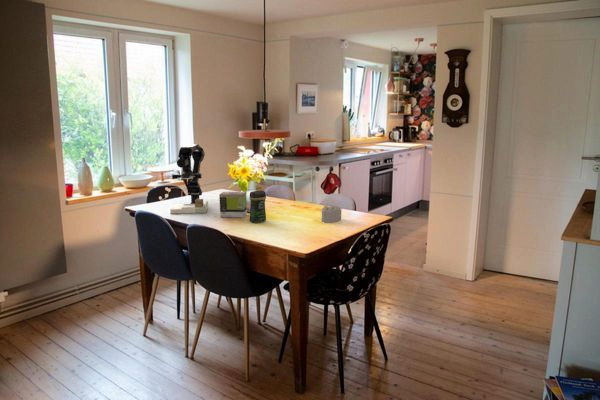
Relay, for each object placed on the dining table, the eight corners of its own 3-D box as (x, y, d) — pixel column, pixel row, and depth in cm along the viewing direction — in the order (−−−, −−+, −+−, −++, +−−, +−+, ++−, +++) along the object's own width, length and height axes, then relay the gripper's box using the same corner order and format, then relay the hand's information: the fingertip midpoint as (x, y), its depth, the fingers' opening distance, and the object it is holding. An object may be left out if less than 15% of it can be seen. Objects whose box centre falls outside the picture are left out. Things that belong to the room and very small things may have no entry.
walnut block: (196, 205, 310) (196, 198, 309) (203, 205, 310) (203, 199, 309) (195, 207, 305) (194, 200, 304) (201, 207, 305) (201, 200, 304)
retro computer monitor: (247, 214, 299) (246, 191, 296) (243, 218, 289) (243, 194, 286) (223, 213, 300) (223, 191, 297) (219, 217, 290) (219, 193, 288)
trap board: (174, 208, 315) (174, 201, 314) (207, 207, 317) (207, 200, 316) (170, 214, 299) (170, 206, 298) (205, 213, 301) (205, 205, 300)
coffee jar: (255, 224, 274) (255, 192, 271) (247, 221, 280) (246, 190, 276) (268, 221, 281) (268, 190, 277) (260, 218, 287) (259, 188, 283)
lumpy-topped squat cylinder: (343, 219, 285) (343, 205, 284) (332, 224, 275) (332, 209, 273) (328, 217, 291) (328, 203, 289) (317, 221, 281) (317, 207, 279)
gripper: (170, 167, 302) (171, 191, 305) (199, 167, 304) (200, 190, 307) (173, 165, 313) (174, 188, 316) (201, 164, 315) (202, 187, 318)
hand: (187, 188), depth 314 cm, fingers closed
